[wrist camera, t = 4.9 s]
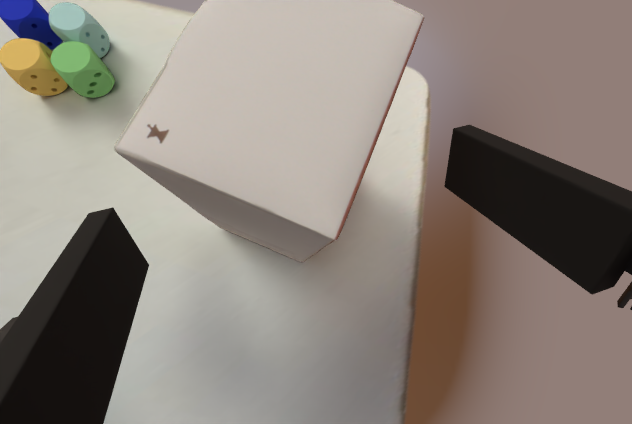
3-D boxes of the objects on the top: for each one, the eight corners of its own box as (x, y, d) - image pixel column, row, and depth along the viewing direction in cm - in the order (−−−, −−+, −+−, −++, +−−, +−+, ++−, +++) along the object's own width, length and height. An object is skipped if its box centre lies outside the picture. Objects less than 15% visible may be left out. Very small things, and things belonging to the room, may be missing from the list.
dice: (55, 6, 22) (-12, 67, 20) (24, -29, 19) (-54, 37, 18) (144, 62, 22) (83, 127, 20) (125, 34, 19) (54, 106, 18)
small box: (303, 264, 20) (337, 249, 7) (217, 228, 20) (99, 148, 7) (345, 162, 22) (430, 9, 9) (267, 128, 22) (243, -74, 9)
